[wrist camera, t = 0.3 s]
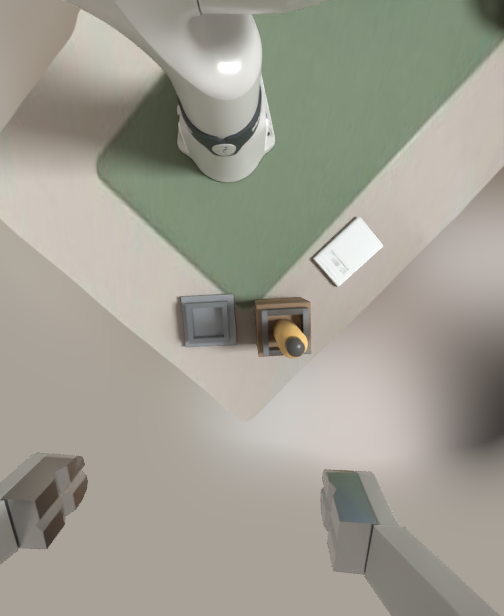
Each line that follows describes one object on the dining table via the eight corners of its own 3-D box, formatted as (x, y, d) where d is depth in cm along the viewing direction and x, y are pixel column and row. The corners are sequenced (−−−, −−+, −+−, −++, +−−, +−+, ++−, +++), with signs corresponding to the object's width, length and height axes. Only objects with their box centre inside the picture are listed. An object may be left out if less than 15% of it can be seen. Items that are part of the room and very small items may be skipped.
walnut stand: (254, 299, 54) (256, 306, 44) (300, 297, 54) (313, 303, 44) (256, 344, 55) (259, 360, 45) (301, 341, 56) (313, 357, 46)
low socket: (182, 296, 53) (178, 298, 50) (233, 293, 53) (232, 295, 50) (186, 345, 55) (183, 350, 52) (236, 343, 55) (235, 347, 52)
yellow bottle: (272, 319, 46) (280, 334, 35) (295, 317, 46) (311, 332, 36) (272, 341, 47) (281, 363, 36) (296, 340, 47) (311, 362, 36)
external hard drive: (379, 246, 53) (335, 286, 54) (355, 217, 52) (311, 258, 53) (384, 246, 52) (338, 287, 53) (359, 215, 51) (313, 258, 52)
